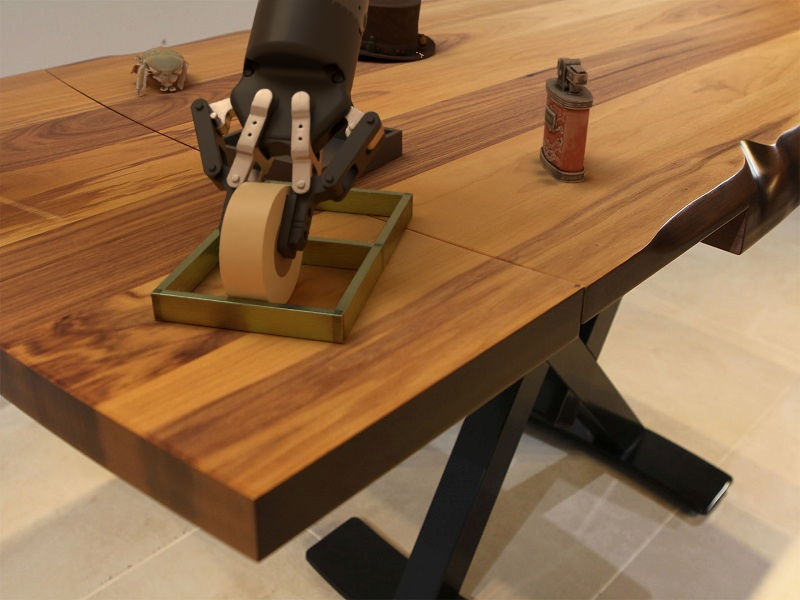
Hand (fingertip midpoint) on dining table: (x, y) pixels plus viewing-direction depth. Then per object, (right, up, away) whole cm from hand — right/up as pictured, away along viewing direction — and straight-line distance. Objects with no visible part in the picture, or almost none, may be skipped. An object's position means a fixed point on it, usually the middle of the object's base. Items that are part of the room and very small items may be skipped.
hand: (260, 250), depth 55 cm
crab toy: (-21, +24, +52) cm, 60 cm away
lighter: (+24, +9, +26) cm, 37 cm away
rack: (+2, 0, +8) cm, 8 cm away
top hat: (+7, +33, +68) cm, 76 cm away
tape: (0, -2, +4) cm, 4 cm away
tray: (0, +10, +27) cm, 29 cm away
